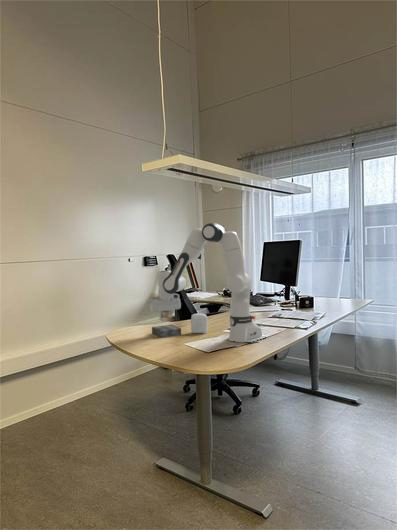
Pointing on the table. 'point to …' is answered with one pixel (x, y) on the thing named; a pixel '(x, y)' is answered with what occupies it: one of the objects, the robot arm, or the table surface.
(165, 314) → the ash block
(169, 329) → the riser block
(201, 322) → the photo printer
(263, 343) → the table surface
